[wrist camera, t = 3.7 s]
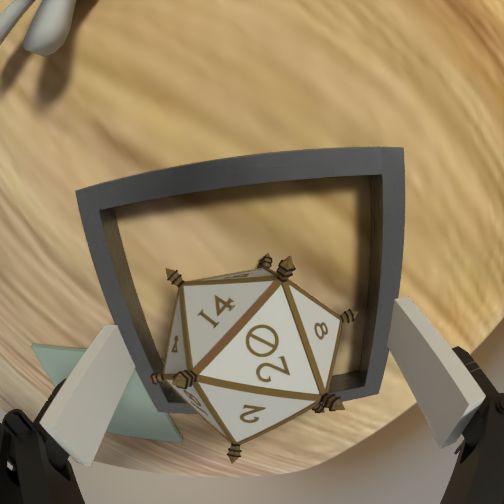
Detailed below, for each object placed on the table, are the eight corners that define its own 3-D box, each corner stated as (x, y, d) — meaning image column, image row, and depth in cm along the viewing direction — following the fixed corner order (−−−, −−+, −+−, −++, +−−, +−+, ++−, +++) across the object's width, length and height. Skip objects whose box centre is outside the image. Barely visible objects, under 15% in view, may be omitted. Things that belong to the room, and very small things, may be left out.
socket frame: (162, 397, 18) (158, 411, 17) (90, 186, 13) (75, 190, 11) (372, 379, 17) (378, 393, 16) (389, 146, 12) (403, 147, 11)
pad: (87, 424, 21) (85, 427, 21) (32, 343, 17) (30, 346, 17) (182, 439, 20) (181, 442, 20) (137, 350, 17) (135, 354, 16)
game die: (224, 264, 18) (88, 243, 9) (359, 250, 15) (318, 194, 6) (231, 397, 17) (111, 457, 8) (361, 406, 13) (317, 530, 4)
